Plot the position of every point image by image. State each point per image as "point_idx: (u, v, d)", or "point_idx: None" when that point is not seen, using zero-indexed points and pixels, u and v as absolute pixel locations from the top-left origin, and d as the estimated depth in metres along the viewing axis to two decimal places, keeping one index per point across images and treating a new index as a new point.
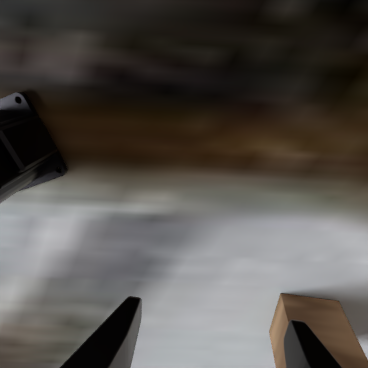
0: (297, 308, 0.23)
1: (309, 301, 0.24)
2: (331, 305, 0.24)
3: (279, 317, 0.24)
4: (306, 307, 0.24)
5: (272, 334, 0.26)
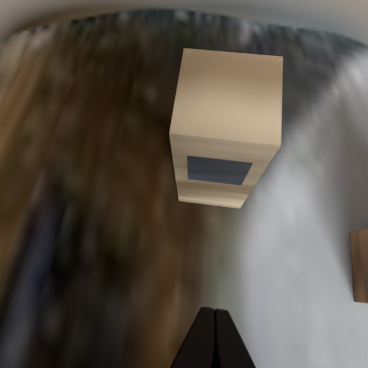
0: (365, 285, 0.19)
1: (356, 267, 0.21)
2: (355, 242, 0.21)
3: None
4: (362, 273, 0.20)
5: None
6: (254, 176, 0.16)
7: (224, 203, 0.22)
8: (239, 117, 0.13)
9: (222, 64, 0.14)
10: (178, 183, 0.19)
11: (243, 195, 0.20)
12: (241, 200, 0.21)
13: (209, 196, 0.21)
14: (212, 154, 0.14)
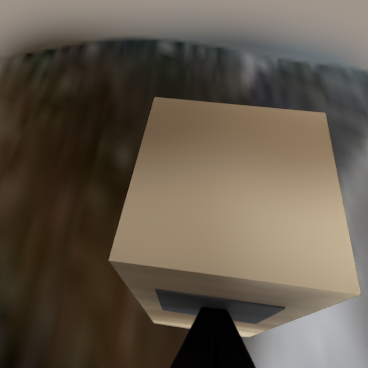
0: None
1: None
2: None
3: None
4: None
5: None
6: (281, 318, 0.09)
7: None
8: (261, 224, 0.06)
9: (221, 123, 0.08)
10: (148, 311, 0.11)
11: (257, 330, 0.12)
12: (252, 333, 0.13)
13: None
14: (204, 291, 0.07)
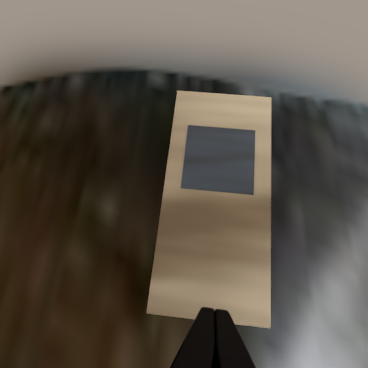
0: None
1: None
2: None
3: None
4: None
5: None
6: (263, 163, 0.13)
7: (237, 297, 0.12)
8: None
9: None
10: (163, 210, 0.13)
11: (264, 241, 0.12)
12: (264, 269, 0.12)
13: (209, 264, 0.12)
14: (213, 119, 0.14)
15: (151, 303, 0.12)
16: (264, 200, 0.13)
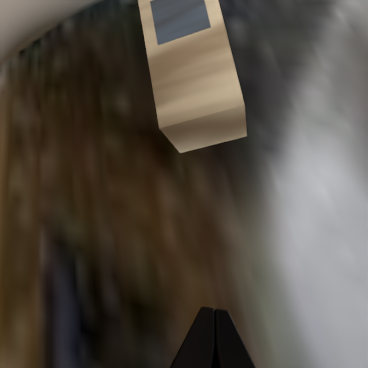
0: None
1: None
2: None
3: None
4: None
5: None
6: (212, 3, 0.17)
7: (217, 95, 0.16)
8: None
9: None
10: (151, 64, 0.17)
11: (226, 54, 0.16)
12: (231, 71, 0.16)
13: (192, 83, 0.16)
14: None
15: (160, 121, 0.16)
16: (219, 27, 0.17)
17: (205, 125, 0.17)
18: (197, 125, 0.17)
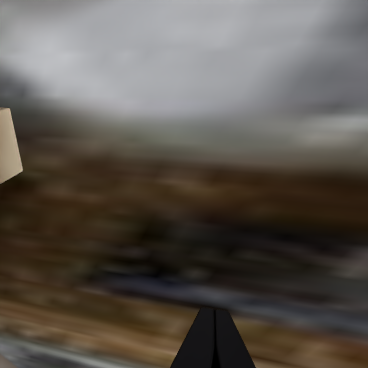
0: None
1: None
2: None
3: None
4: None
5: None
6: None
7: None
8: None
9: None
10: None
11: None
12: None
13: None
14: None
15: None
16: None
17: None
18: None
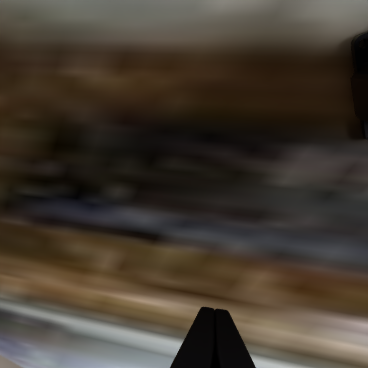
0: None
1: None
2: None
3: None
4: None
5: None
6: None
7: None
8: None
9: None
10: None
11: None
12: None
13: None
14: None
15: None
16: None
17: None
18: None
